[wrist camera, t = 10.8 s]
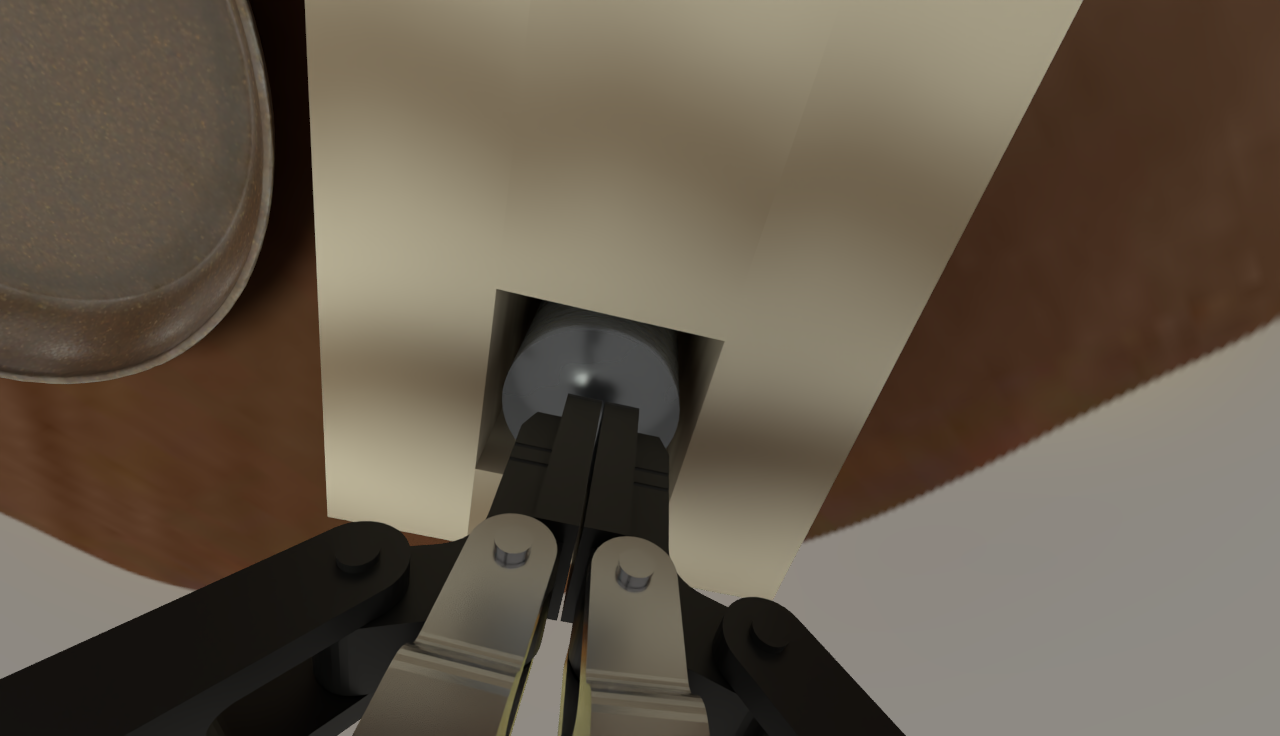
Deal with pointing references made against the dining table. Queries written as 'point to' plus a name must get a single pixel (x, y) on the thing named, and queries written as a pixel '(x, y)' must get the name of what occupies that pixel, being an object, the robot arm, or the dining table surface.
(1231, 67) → the dining table surface
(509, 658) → the robot arm
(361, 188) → the birch block
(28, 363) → the plant saucer
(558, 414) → the outer peg
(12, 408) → the dining table surface
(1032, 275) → the dining table surface
